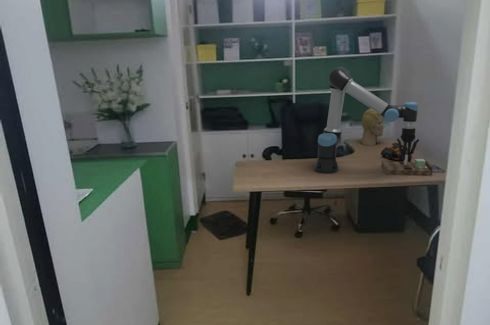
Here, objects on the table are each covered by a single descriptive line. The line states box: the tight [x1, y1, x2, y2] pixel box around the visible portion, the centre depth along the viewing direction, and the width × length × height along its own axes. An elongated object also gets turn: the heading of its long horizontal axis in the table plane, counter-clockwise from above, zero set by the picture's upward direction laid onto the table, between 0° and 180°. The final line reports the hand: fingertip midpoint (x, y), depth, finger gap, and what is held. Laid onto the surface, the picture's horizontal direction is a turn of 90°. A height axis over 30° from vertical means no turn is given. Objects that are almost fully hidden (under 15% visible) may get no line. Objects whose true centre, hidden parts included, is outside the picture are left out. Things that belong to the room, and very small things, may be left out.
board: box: [381, 158, 433, 176], centre depth 228 cm, size 26×19×6 cm
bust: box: [361, 108, 385, 146], centre depth 297 cm, size 18×18×30 cm
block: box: [414, 158, 427, 167], centre depth 226 cm, size 5×5×4 cm
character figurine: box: [380, 142, 414, 162], centre depth 249 cm, size 17×11×28 cm
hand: (405, 164), depth 228 cm, fingers closed
